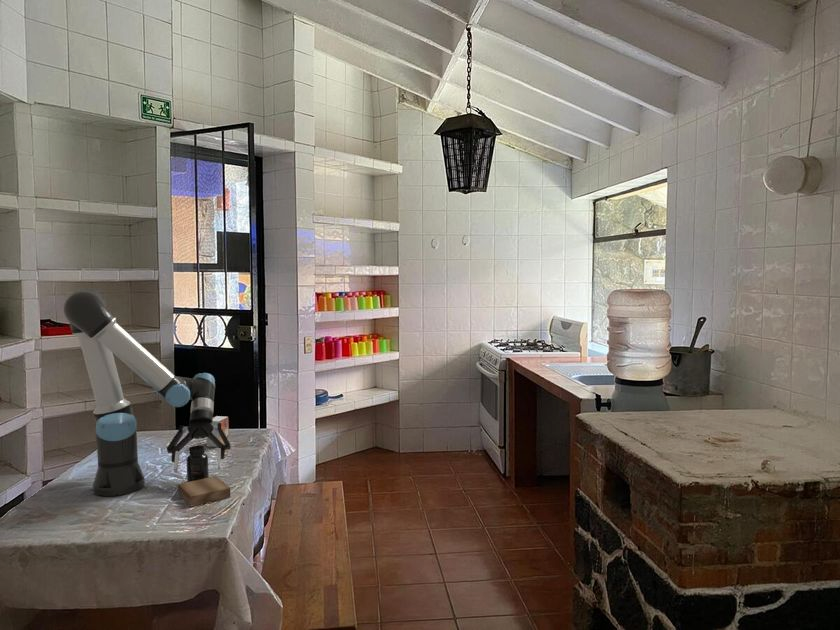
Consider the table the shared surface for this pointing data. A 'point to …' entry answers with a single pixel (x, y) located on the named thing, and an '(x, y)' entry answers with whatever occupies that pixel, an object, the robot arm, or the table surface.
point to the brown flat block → (204, 490)
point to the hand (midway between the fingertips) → (197, 469)
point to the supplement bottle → (197, 464)
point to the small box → (225, 429)
